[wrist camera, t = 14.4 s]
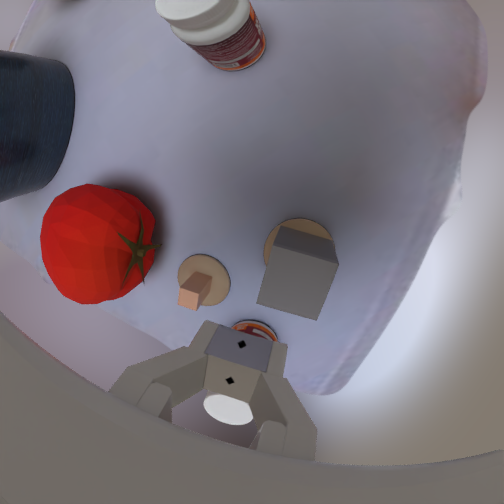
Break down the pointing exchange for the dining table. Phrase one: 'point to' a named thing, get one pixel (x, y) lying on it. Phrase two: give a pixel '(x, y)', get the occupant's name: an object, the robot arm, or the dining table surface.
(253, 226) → the dining table surface
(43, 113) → the planter
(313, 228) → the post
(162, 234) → the dining table surface
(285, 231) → the charcoal tapered box
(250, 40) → the pill bottle
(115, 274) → the tomato
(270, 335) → the pill bottle
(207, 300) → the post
